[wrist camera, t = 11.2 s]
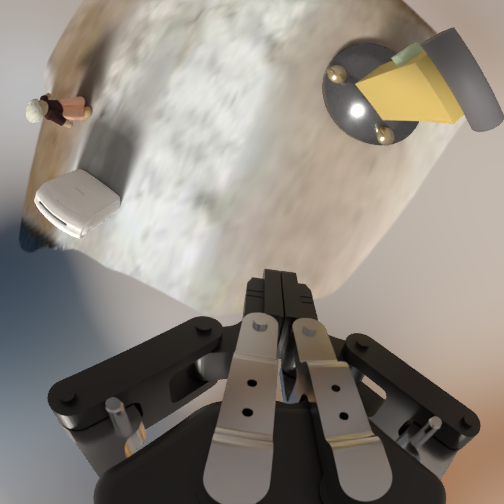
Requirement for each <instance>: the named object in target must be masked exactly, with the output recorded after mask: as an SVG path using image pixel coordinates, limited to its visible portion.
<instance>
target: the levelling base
mask: <svg viewBox="0 0 504 504" xmlns="http://www.w3.org/2000/svg"><path fill="white" fill-rule="evenodd" d="M396 54H397V53H395V52H394V51H392V50H390V49H388V48H386V47H383V46H380V45H375V44H358V45H354V46H351V47H349V48H347V49H345V50H343V51H342V52H341V53H339V54H338V55H337V56H336V57H335V58H334V59H333V60H332V61H331V62H330V64H329V65H328V67H327V69H326V71H325V74H324V78H323V85H322V89H323V98H324V102H325V105H326V108H327V110H328V112H329V114H330V116H331V118H332V119H333V120H334V122H335V123H336V124H337V125H338V126H339V127H340V129H342V130H343V131H344V132H345V133H346V134H348V135H349V136H351V137H353V138H355V139H357V140H359V141H362V142H365V143H369V144H374V145H390V144H394V143H397V142H399V141H401V140H403V139H405V138H406V137H408V136H409V135H410V134H411V133H412V132H413V131H414V129H415V128H416V126H417V125H418V123H419V121H400V120H382V118H381V117H380V116H379V114H378V113H377V112H376V110H375V109H374V108H373V106H372V105H371V104H370V102H369V101H368V100H367V98H366V97H365V96H364V95H363V93H362V92H361V91H360V90H359V88H358V87H357V86H356V85H355V84H356V83H357V82H358V81H360V80H361V79H363V78H364V77H365V76H367V75H368V74H369V73H371V72H372V71H373V70H375V69H376V68H378V67H379V66H380V65H383V64H385V63H388V62H390V61H392V59H391V58H392V57H393V56H395V55H396Z"/></svg>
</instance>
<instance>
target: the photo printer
mask: <svg viewBox="0 0 504 504" xmlns="http://www.w3.org/2000/svg"><path fill="white" fill-rule="evenodd" d="M34 201H35V203H36V205H37V207H38V209H39V210H40V211H41V213H42V214H43V215H44V216H45V217H46V218H47V219H48V220H49V221H50V222H51V223H52V224H54V225H55V226H57V227H58V228H59V229H61V230H62V231H64V232H66V233H67V234H69V235H71V236H74V237H76V238H80V239H81V238H83V237H85V236H86V235H87V234H88V233H90V232H91V231H92V230H93V229H95V228H96V227H97V226H99V225H100V224H101V223H102V222H104V221H105V220H106V219H108V218H109V217H110V216H111V215H112V214H114V213H115V212H116V211H117V210H118V209H119V207H120V197H119V196H118V195H117V194H116V193H115V192H114V191H112V190H111V189H110V188H108V187H107V186H106V185H104V184H103V183H102V182H100V181H99V180H98V179H96V178H95V177H93V176H92V175H90V174H89V173H87V172H86V171H84V170H82V169H77V170H75V171H72V172H69V173H67V174H64V175H62V176H59V177H57V178H54V179H52V180H50V181H47V182H45V183H44V184H43V185H42V186H41V187H40V188H39V189H38V191H37V192H36V197H35V199H34Z"/></svg>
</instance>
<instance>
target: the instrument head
mask: <svg viewBox="0 0 504 504" xmlns="http://www.w3.org/2000/svg"><path fill="white" fill-rule="evenodd" d="M391 59H392V61H390V62H388V63H385V64H383V65H380V66H379V67H378V68H376V69H375V70H373V71H372V72H371V73H369V74H368V75H367V76H365V77H364V78H363V79H361V80H360V81H358V82H357V83H356V84H355V85H356V86H357V87H358V88H359V90H360V91H361V92H362V93H363V95H364V96H365V97H366V98H367V100H368V101H369V102H370V104H371V105H372V106H373V108H374V109H375V110H376V112H377V113H378V114H379V116H380V117H381V118H382V120H400V121H423V122H438V123H450V124H454V123H455V122H456V121H457V120H458V119H459V118H461V117H462V116H463V115H465V117H466V119H467V121H468V122H469V124H470V126H471V128H472V130H474V131H477V132H484V131H488V130H491V129H493V128H495V127H497V126H498V125H500V124H501V123H502V122H503V120H504V115H503V112H502V110H501V108H500V106H499V104H498V101H497V100H496V97H495V95H494V93H493V91H492V89H491V87H490V85H489V83H488V82H487V80H486V78H485V76H484V74H483V72H482V70H481V69H480V67H479V65H478V64H477V62H476V60H475V58H474V57H473V55H472V54H471V52H470V50H469V49H468V47H467V46H466V44H465V43H464V41H463V40H462V38H461V37H460V35H459V34H458V33H457V31H456V30H455V28H450V29H448V30H445V31H443V32H441V33H439V34H437V35H435V36H433V37H431V38H430V39H428V40H426V41H425V42H424V43H422V44H421V46H420V44H419V43H418V42H415V43H413V44H411V45H409V46H408V47H406V48H405V49H403V50H402V51H400V52H399V53H397V54H396V55H395V56H393V57H392V58H391Z"/></svg>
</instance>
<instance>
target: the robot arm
mask: <svg viewBox="0 0 504 504" xmlns="http://www.w3.org/2000/svg"><path fill="white" fill-rule="evenodd" d="M278 359H281V367H280V370H279V377H280V385H281V392H282V399H283V402H279V401H276V389H277V375H278ZM364 375H366V376H367V377H368V378H370V379H371V380H372V381H373V382H375V383H376V384H377V385H379V386H380V387H381V388H382V389H383V390H384V391H385V392H386V396H387V398H386V400H385V399H383V398H382V397H380V396H379V395H378V394H377V393H375V392H374V391H373V390H372V389H370V388H369V387H368V386H367V385H365V384H364V383H363V382H361V381H362V379H363V377H364ZM220 379H227V384H226V388H225V392H224V396H223V400H222V401H220V402H216V403H212V404H209V405H206V406H204V407H202V408H200V409H199V410H197V411H195V412H194V413H192V414H191V415H190V416H188V417H187V418H186V419H184V420H183V421H181V422H180V423H179V424H177V425H176V426H175V427H173V428H172V429H170V430H169V431H167V432H166V433H164V434H163V435H161V436H160V437H158V438H157V439H155V440H154V441H153V442H151V443H150V444H148V445H146V446H145V447H143V448H142V449H140V450H139V451H137V452H136V453H135V451H136V450H137V449H139V448H140V447H141V446H142V445H143V444H144V442H145V439H146V431H145V429H147V428H148V427H150V426H152V425H153V424H155V423H157V422H158V421H160V420H162V419H163V418H165V417H167V416H168V415H170V414H171V413H173V412H175V411H176V410H178V409H179V408H181V407H182V406H184V405H185V404H187V403H189V402H190V401H191V400H193V399H195V398H196V397H198V396H199V395H201V394H202V393H203V392H205V391H206V390H208V389H209V388H211V387H212V386H213V385H215V384H216V383H217V381H218V380H220ZM48 403H49V405H50V407H51V409H52V410H53V412H54V414H55V415H56V417H57V419H58V421H59V423H60V424H61V426H62V427H63V429H64V430H65V431H66V433H67V434H68V435H69V437H70V438H71V439H72V440H73V441H74V442H75V443H76V445H77V446H78V447H79V449H80V450H81V451H82V452H83V454H84V456H85V457H86V459H87V460H88V462H89V463H90V464H91V466H92V467H93V469H94V470H95V471H96V473H97V474H98V476H99V477H100V479H99V480H98V482H97V484H96V487H95V490H94V504H446V493H445V488H444V486H443V484H442V482H441V478H442V477H443V475H444V474H445V472H446V471H447V469H448V467H449V465H450V464H451V462H452V460H453V459H454V457H455V455H456V453H457V452H458V451H459V450H460V449H462V448H463V447H464V446H465V445H466V444H467V443H468V442H469V441H470V440H471V439H473V438H474V437H475V436H476V435H477V434H478V433H479V431H480V421H479V418H478V417H477V415H476V414H475V413H474V412H473V411H472V410H470V409H469V408H467V407H466V406H465V405H463V404H462V403H461V402H459V401H458V400H456V399H455V398H454V397H452V396H451V395H449V394H448V393H447V392H445V391H444V390H442V389H441V388H440V387H438V386H437V385H436V384H434V383H433V382H431V381H430V380H429V379H427V378H426V377H424V376H423V375H422V374H420V373H419V372H418V371H416V370H415V369H413V368H412V367H410V366H409V365H408V364H406V363H405V362H404V361H402V360H401V359H400V358H398V357H397V356H395V355H394V354H393V353H391V352H390V351H389V350H387V349H386V348H384V347H383V346H382V345H380V344H379V343H377V342H376V341H375V340H373V339H372V338H370V337H369V336H367V335H364V334H359V333H354V334H351V335H349V336H348V337H347V338H346V341H345V340H342V339H338V338H335V337H332V336H330V335H328V333H327V330H326V328H325V327H324V325H323V324H322V323H320V322H319V321H318V319H317V314H316V310H315V306H314V301H313V299H312V293H311V290H310V289H309V288H308V287H307V286H306V285H305V284H299V283H298V281H297V276H296V273H293V272H286V271H278V270H270V269H264V273H263V279H260V278H253V277H252V278H251V280H250V281H249V282H248V283H247V289H246V296H245V303H244V310H243V319H242V321H241V322H239V323H238V324H236V325H233V326H227V327H222V325H221V323H220V322H218V321H217V320H216V319H213V318H211V317H205V316H200V317H195V318H192V319H190V320H188V321H186V322H184V323H182V324H180V325H178V326H176V327H174V328H172V329H170V330H168V331H166V332H164V333H162V334H160V335H158V336H156V337H154V338H151V339H149V340H148V341H145V342H143V343H142V344H139V345H137V346H135V347H133V348H131V349H129V350H127V351H124V352H122V353H120V354H118V355H116V356H114V357H112V358H110V359H107V360H105V361H103V362H101V363H99V364H96V365H94V366H92V367H90V368H88V369H85V370H83V371H81V372H79V373H77V374H75V375H72V376H70V377H68V378H65V379H63V380H61V381H59V382H57V383H55V384H54V385H53V386H52V387H51V389H50V390H49V393H48Z"/></svg>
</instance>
